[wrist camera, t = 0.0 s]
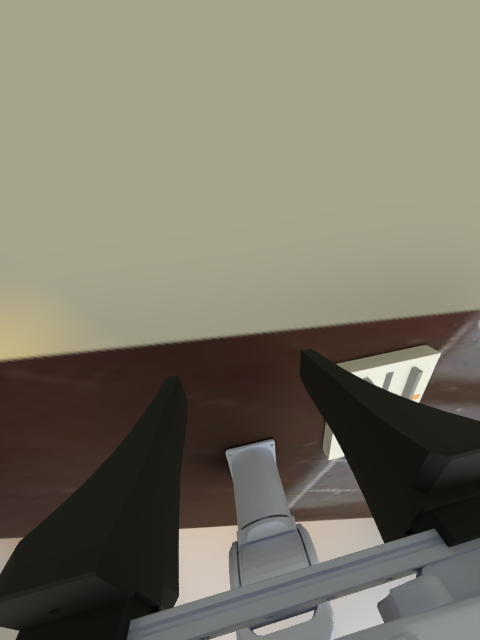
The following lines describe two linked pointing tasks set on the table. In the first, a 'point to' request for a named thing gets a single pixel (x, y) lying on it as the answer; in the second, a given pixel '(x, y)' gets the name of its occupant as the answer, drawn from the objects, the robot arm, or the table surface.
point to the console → (389, 379)
